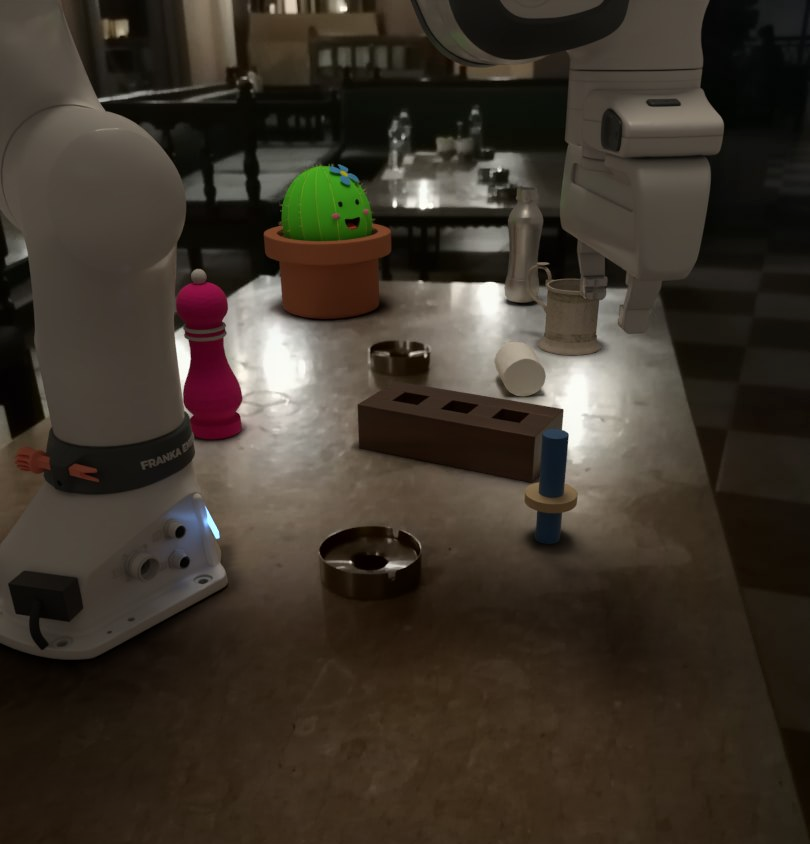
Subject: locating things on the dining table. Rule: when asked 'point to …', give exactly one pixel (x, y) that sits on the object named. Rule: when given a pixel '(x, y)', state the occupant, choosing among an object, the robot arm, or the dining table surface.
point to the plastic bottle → (523, 246)
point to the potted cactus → (328, 246)
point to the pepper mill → (208, 361)
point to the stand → (457, 429)
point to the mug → (567, 317)
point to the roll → (519, 369)
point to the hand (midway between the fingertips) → (611, 313)
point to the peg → (551, 487)
